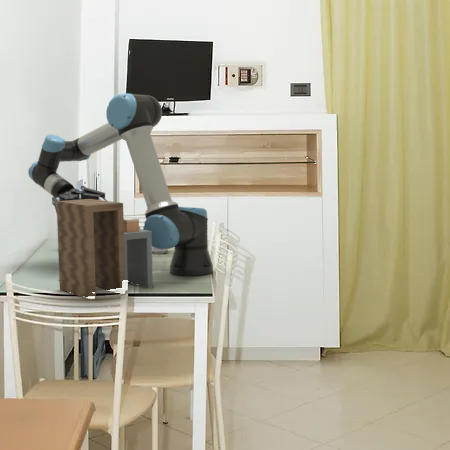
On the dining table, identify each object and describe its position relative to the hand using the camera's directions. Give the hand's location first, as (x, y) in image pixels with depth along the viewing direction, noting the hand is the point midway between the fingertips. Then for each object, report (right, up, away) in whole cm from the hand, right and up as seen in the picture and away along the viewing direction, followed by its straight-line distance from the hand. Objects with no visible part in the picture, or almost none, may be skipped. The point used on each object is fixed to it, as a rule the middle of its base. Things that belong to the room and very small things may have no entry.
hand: (95, 215), depth 263 cm
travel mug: (+19, -15, +46) cm, 52 cm away
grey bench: (+12, -23, -18) cm, 31 cm away
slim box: (+8, -4, -15) cm, 18 cm away
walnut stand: (+4, -24, -28) cm, 37 cm away
